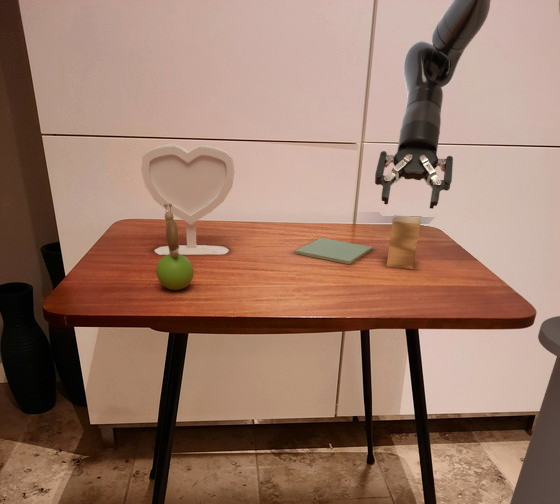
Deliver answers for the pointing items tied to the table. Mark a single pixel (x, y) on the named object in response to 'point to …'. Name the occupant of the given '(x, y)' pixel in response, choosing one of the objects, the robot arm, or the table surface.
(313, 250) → the square tile
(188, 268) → the green ball with handle
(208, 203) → the heart sculpture
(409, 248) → the birch block
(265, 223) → the table surface
